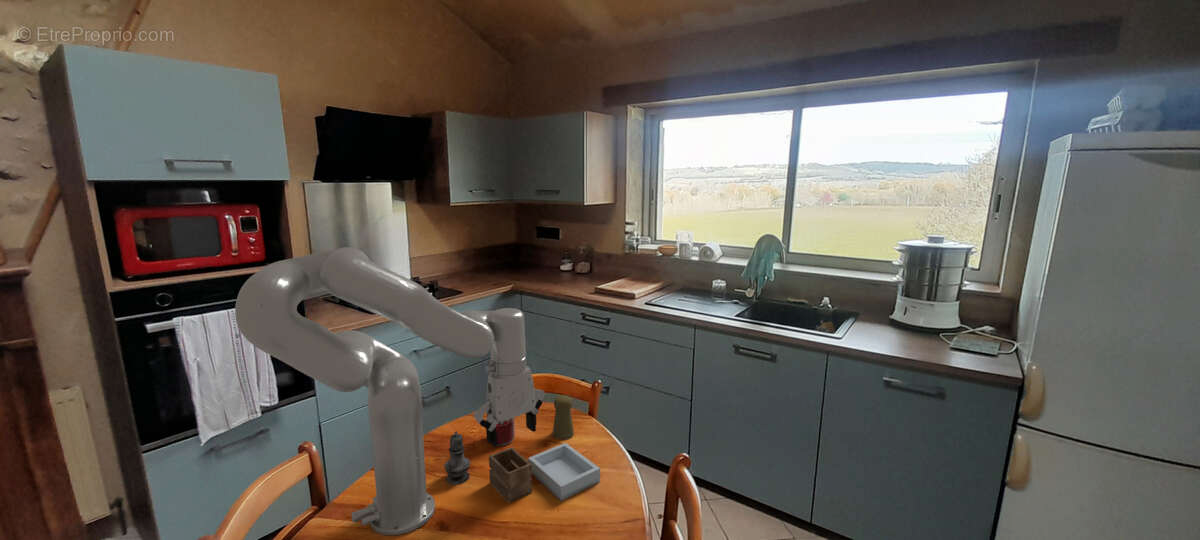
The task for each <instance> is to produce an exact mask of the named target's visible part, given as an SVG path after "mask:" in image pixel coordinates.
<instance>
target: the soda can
mask: <svg viewBox="0 0 1200 540" xmlns="http://www.w3.org/2000/svg"><path fill="white" fill-rule="evenodd" d="M486 402H487V400H486ZM486 402H485V403H486ZM488 415H489V414H488V412H486V418H487V417H488ZM493 419H494V418H493ZM495 429H496V430H497V442H498V445H497V447H500V446H501V447H502V446H507V445H509V444H511V443H512V442H513V440H514V439H515V437H516V435H515V434H516V432H515V417H514V418H511V419H509V420H506V421H503V422H498V423H497V425H496V427H495Z"/></svg>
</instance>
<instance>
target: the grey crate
mask: <svg viewBox="0 0 1200 540" xmlns="http://www.w3.org/2000/svg"><path fill="white" fill-rule="evenodd" d="M527 461H528V462H530V463H531V464H532V476H534V478H536V479H537V480H538V482H539V483H541V484H542V485H543V486H545V488H547V489H548V490H549V491H550V492H551V493H552V495H554V496H555V497H556V498H557V499H558V500H560V502H563V501H564V500H566V499H569V498H570V497H572V496H574V495H576V494H578V493H581V492H583V491H585V490H587V489H589V488H591V487H593V486H594V485H596V484H599V483H600V482H601V468H600V467H599V466H598V465H596V464H595V463H593V462H592V461H591V460H590V459H588V458H587V457H586V456H584V455H583V454H582V453H580V452H579V451H577V450H576V449H575V448H573V447H572V446H570V444H568V443H566V442H564V443H562V444H559V445H557V446H554V447H551V448H549V449H547V450H545V451H542V452H540V453H537V454H535V455H532V456H530V457H528V458H527Z"/></svg>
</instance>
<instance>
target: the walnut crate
mask: <svg viewBox="0 0 1200 540" xmlns="http://www.w3.org/2000/svg"><path fill="white" fill-rule="evenodd" d="M488 464H489V465H488V466H489V468H490V469H489V471H488V472H489V484H490V485H491V486H492V487H493V488H494V490H495V491H496V492H498V494H499V495H500V496H501V498H502V499H504V500H505V502H507V504H510V503H513V502H515V501H517V500H519V499H522V498H524V497H526V496H528V495H530V494H532V493H533V478H531V477H532V476H533V475H532V464H531V463H530V462H528V459H526V458H525V457H524V456H523V455H522V454H521V453H520V452H519V451H517V450H516V449H515V448H514V447H513V446H511V447H509V448H506V449H503V450H501V451H498V452H496V453H493V454H490V455H488Z"/></svg>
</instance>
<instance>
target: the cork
mask: <svg viewBox="0 0 1200 540" xmlns="http://www.w3.org/2000/svg"><path fill="white" fill-rule="evenodd" d="M553 407H554V409H555V413H554V420H553V421H554V422H553V428H552V436H553V439H557V440H559V441H565V440H569V439H572V438H573V437H574V435H575V432H574V425H573V418H572V410H571V409H572V408H573V398H572V397H570V396H568V395H566V394H565V395H564V394H563V395H557V396H556V397H555V398H554V400H553Z"/></svg>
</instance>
